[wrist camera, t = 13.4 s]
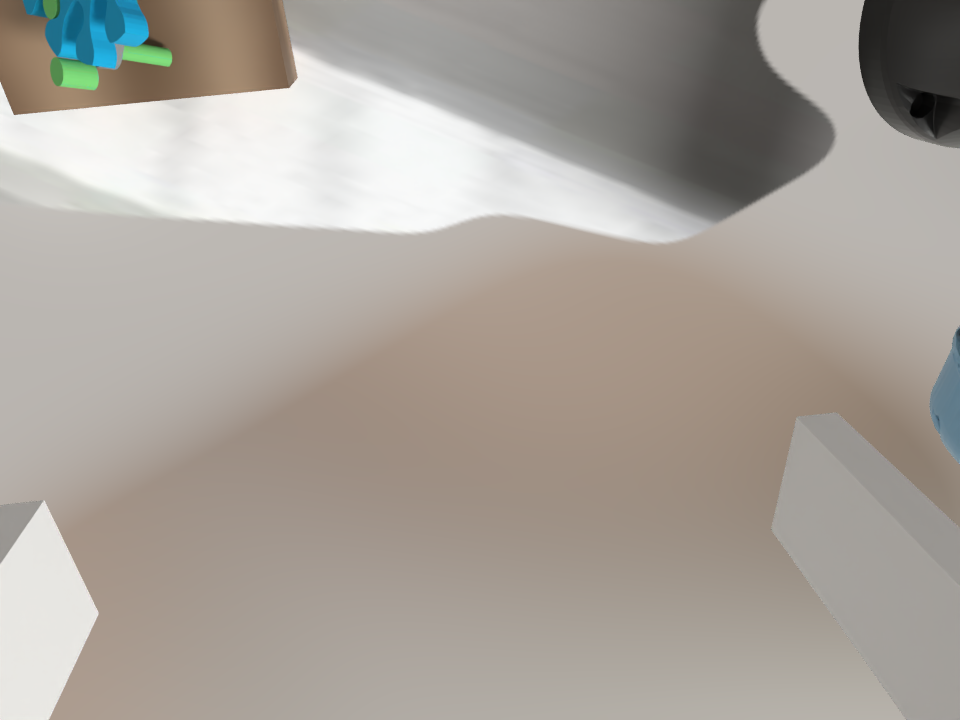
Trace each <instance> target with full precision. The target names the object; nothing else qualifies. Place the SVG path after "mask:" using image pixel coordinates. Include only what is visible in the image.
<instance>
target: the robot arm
mask: <svg viewBox="0 0 960 720" xmlns="http://www.w3.org/2000/svg"><path fill="white" fill-rule="evenodd" d="M859 62H860V69H861V74H862V78H863V82H864V86H865V89H866V91H867V94H868V96H869V98H870V100H871V103H872V104H873V106H874V107H875V109H876V110H877V112H878V113H879V114H880V116H881V117H882V118H883V119H884V120H885V121H886V122H887V123H888V124H889V125H890V126H892V127H893V128H894V129H896V130H897V131H899V132H901V133H903V134H904V135H907V136H909V137H912V138H915V139H918V140H922V141H925V142H929V143H933V144H937V145H940V146H945V147H952V148H960V0H865V2H864V6H863V11H862V16H861V22H860V32H859ZM930 414H931V417H932V420H933V423H934V426H935V428H936V430H937V431H938V433H939V434H940V437H941V440H942V442H943V444H944V445H945V447H946V448H947V450H948V451H949V452H950V454H951V455H952V456H953V457H954V458H955V460H956V461H957V462H958V463H959V464H960V326H959V327H958V329H957V330H956V332H955V335H954V337H953V343H952V349H951V351H950V354H949V356H948V358H947V360H946V362H945V364H944V366H943V368H942V370H941V372H940V375H939V377H938V379H937V381H936V383H935V385H934V387H933V389H932V392H931V397H930ZM771 530H772V531H773V533H774V534H775V536H776V537H777V538H778V540H779V541H780V543H781V544H782V546H783V547H784V548H785V550H786V551H787V553H788V554H789V555H790V557H791V558H792V560H793V561H794V562H795V564H796V565H797V567H798V568H799V569H800V571H801V572H802V573H803V575H804V576H805V578H806V579H807V580H808V582H809V584H810V585H811V586H812V588H813V589H814V590H815V592H816V593H817V595H818V596H819V598H820V599H821V600H822V602H823V603H824V605H825V606H826V607H827V609H828V610H829V612H830V613H831V614H832V616H833V617H834V619H835V620H836V621H837V623H838V624H839V626H840V627H841V629H842V630H843V631H844V633H845V634H846V636H847V637H848V638H849V640H850V641H851V643H852V644H853V645H854V647H855V648H856V649H857V651H858V652H859V654H860V655H861V657H862V658H863V659H864V661H865V662H866V664H867V665H868V666H869V668H870V669H871V671H872V672H873V674H874V675H875V676H876V678H877V679H878V681H879V682H880V683H881V685H882V686H883V688H884V689H885V690H886V692H887V693H888V694H889V696H890V697H891V699H892V700H893V702H894V703H895V704H896V706H897V707H898V709H899V710H900V711H901V713H902V714H903V716H904V717H905V719H906V720H960V528H959V527H958V526H957V525H956V524H955V523H954V522H953V521H952V520H950V518H948V516H946V515H945V514H944V513H943V512H942V511H941V510H940V509H939V508H938V507H936V505H935V504H934V503H933V502H932V501H930V500H929V499H928V498H927V497H926V496H925V495H924V494H923V493H922V492H921V491H920V490H919V489H918V488H917V487H916V486H914V485H913V484H912V483H911V482H910V481H909V480H908V479H907V478H906V477H905V476H903V474H902V473H901V472H900V471H898V470H897V469H896V468H895V467H894V466H893V465H892V464H891V463H890V462H889V461H888V460H887V459H886V458H885V457H883V456H882V455H881V454H880V453H879V452H878V451H877V450H876V449H875V448H874V447H873V446H872V445H871V444H870V443H869V442H867V441H866V440H865V439H864V438H863V437H862V436H861V435H860V434H859V433H858V432H857V431H856V430H855V429H854V428H853V427H852V426H850V425H849V424H848V423H847V422H846V421H845V420H844V419H843V418H842V417H841V416H840V415H839V414H838V413H828V414H819V415H809V416H800V417H797V418H796V422H795V427H794V431H793V436H792V440H791V445H790V449H789V453H788V458H787V463H786V467H785V471H784V475H783V480H782V484H781V489H780V493H779V498H778V502H777V506H776V511H775V515H774V519H773V524H772V529H771ZM98 614H99V613H98V611H97V609H96V607H95V605H94V603H93V600H92V598H91V596H90V594H89V592H88V590H87V588H86V586H85V584H84V582H83V580H82V578H81V576H80V573H79V571H78V569H77V567H76V565H75V563H74V561H73V559H72V557H71V555H70V553H69V551H68V549H67V547H66V545H65V542H64V541H63V538H62V536H61V534H60V532H59V530H58V528H57V526H56V524H55V522H54V520H53V518H52V516H51V513H50V511H49V510H48V507H47V505H46V503H45V501H44V500H43V501H33V502H24V503H15V504H6V505H0V720H49V718H50V716H51V714H52V712H53V710H54V707H55V705H56V703H57V701H58V699H59V697H60V695H61V693H62V690H63V688H64V686H65V684H66V682H67V680H68V678H69V676H70V673H71V671H72V669H73V667H74V665H75V663H76V661H77V658H78V657H79V654H80V652H81V650H82V648H83V646H84V643H85V642H86V640H87V637H88V635H89V633H90V631H91V629H92V627H93V625H94V623H95V620H96V618H97V616H98Z"/></svg>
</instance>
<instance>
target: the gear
mask: <svg viewBox="0 0 960 720" xmlns="http://www.w3.org/2000/svg"><path fill="white" fill-rule="evenodd" d="M23 3H24V7H25V10H26V13H27V14H29V15H34V16H39V17H45V18H49V19H51V20H49V21H48V22H47V24H46V28H45V37H46V40H47V42H48V44H49V46H50V48H51V49H52V51H53V52H54V53H55V55H56V56H57V57H54V58H53V59H52V60H51V64H50V73H51V78H52V80H53V82H54V84H55V85H56V86H60V87H69V88H78V89H86V90H95V89H96V88H97V86H98V82H99V76H98V71H97V68H104V69H111V70H116V69H118V67H119V66H120V64H121V62H122V60H128V61H135V62H141V63H148V64H154V65H160V66H167V67H168V66H170V65H171V63H172V54H171V51H170V50H169V49H168V48H163V47H157V46H151V45H146V44H142V43H143V42H144V41H145V40H146V39H147V38H148V37H149V31H148V24H147V21H146V18H145V16H144V15H143V13H142V11H141V9H140V7H139V5H138V2H137V0H23ZM58 57H62V58H58ZM65 58H69V59H65ZM72 59H76V60H72Z"/></svg>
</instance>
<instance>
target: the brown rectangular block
mask: <svg viewBox="0 0 960 720" xmlns="http://www.w3.org/2000/svg"><path fill="white" fill-rule="evenodd" d="M137 2H138V5H139V7H140V9H141V11H142V13H143V15H144V16H145V18H146V21H147V24H148V31H149V37H148V38H147V39H146V40H145V41H144V42H143V43H142V44H146V45H151V46H157V47H163V48H168V49H169V50H170V51H171V54H172V63H171V65H170V66H168V67H167V66H160V65H154V64H148V63H141V62H135V61H128V60H122V62H121V64H120V66H119V67H118V69H116V70H111V69H104V68H97V71H98V76H99V82H98V86H97V88H96V89H95V90H86V89H78V88H69V87H60V86H56V85H55V84H54V82H53V80H52V78H51V73H50V64H51V60H52V59H53V58H54V57H57V56H56V55H55V53H54V52H53V51H52V49H51V48H50V46H49V44H48V42H47V40H46V37H45V28H46V24H47V22H48V21H49V20H51V19H49V18H45V17H39V16H34V15H29V14H27V13H26V10H25V7H24V3H23V0H0V82H1V84H2V87H3V89H4V92H5V94H6V97H7V99H8V101H9V104H10V106H11V109H12V111H13V114H14V115H18V114H28V113H38V112H48V111H59V110H69V109H79V108H89V107H99V106H109V105H120V104H130V103H140V102H150V101H160V100H171V99H181V98H191V97H201V96H211V95H221V94H232V93H242V92H252V91H262V90H272V89H283V88H289V87H290V86H291V85H292V84H293V83H294V81H295V80H296V79H297V73H296V67H295V62H294V57H293V52H292V47H291V42H290V37H289V32H288V27H287V22H286V17H285V12H284V7H283V2H282V0H137ZM58 58H62V57H58ZM65 59H69V58H65ZM72 60H76V59H72Z"/></svg>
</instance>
